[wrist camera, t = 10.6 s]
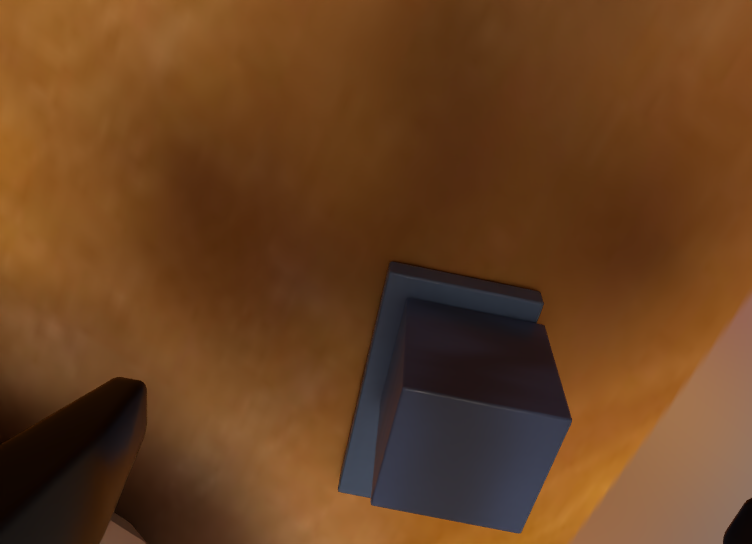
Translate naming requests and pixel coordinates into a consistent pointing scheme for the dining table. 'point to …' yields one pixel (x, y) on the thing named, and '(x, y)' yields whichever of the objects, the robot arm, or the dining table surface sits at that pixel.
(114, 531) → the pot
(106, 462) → the robot arm
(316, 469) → the dining table surface
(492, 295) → the blue board
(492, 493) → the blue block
